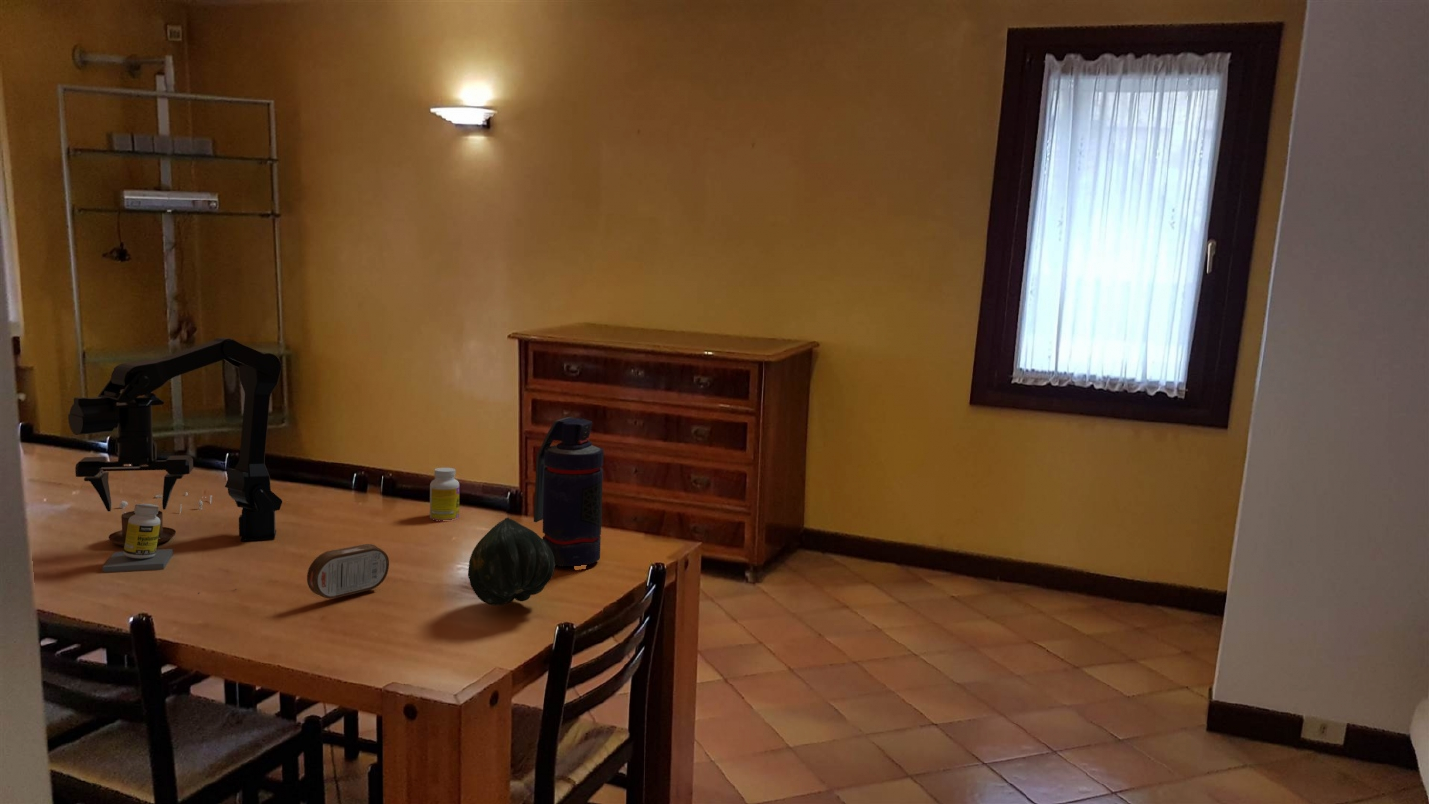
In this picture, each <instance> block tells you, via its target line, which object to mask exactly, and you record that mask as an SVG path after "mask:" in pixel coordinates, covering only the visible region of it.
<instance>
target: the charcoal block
mask: <svg viewBox="0 0 1429 804" xmlns="http://www.w3.org/2000/svg"><path fill="white" fill-rule="evenodd" d="M173 550H174V548H164V549H161V548H160V549H156V554H155V556H153V557H151V558H131V557H128V556H125V555H124V550H122V551H115V552H114V553H113V554H111V556H110V557H109V559H108V560H107V561H106V562H105V564H104V565H103V566H102V573H104V574H107V573H121V572H123V573H125V572H139V571H140V572H141V571H143V572H144V571H158V570H159V571H163V570H165V568H166V566H167V565H168V564H169V562H170V560H171V559H172V557H173V555H174V551H173Z"/></svg>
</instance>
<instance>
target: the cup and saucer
mask: <svg viewBox="0 0 1429 804" xmlns="http://www.w3.org/2000/svg"><path fill="white" fill-rule="evenodd" d="M133 515H135V513H134V510H131V511H127V512H126V513H122V514H121V517H120V518H121V530H118V531H114V532H112V533H110V534H109V535H108V540H109V541H110V542H111V543H112V544H114V545H117V546H122V547H124V546H125V540H126V533H127V527H128V521H129V518H130V517H131V516H133ZM156 517H158V518H159V519H160V529H159V535H158V542H157V545H158V544H162V543H165V542H168V541H170V540H172V539H173V537H175V535H176V534H177V533H176V530H175V528H172V527H167V526H164V525H163V524H164V523H163V517H164V516H163V511H161V510H158V514H157V515H156Z"/></svg>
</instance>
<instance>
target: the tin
mask: <svg viewBox="0 0 1429 804" xmlns="http://www.w3.org/2000/svg"><path fill="white" fill-rule="evenodd" d="M389 558H390V557H389V556H388V554H387V553H386V552H385V551H384V550H383V549H381V548H380V547H378V546H377V545H375V544H372V543H364V544H363V543H362V544H359V545H353V546H349V547H343V548H338V549H332V550H327V551H324V552H323V553H321V554H319V555H318V556H317V557H316V558H314V560H312V562H311V564H310V566H309V568H308V570H307V574H306V583H307V586H308V588H309V589H310V591H311V592H312V593H314V594H315V595H317V596H320V597H322V598H325V599H331V600H332V599H336V598H341V597H345V596H349V595H354V594H358V593H363V592H368V591H371V590H373V589H376V588H378V587H379V586H380V585H381V584H382V583H383V582H384V581H385V579H386V577H387V575H388V573H389V570H390V569H389V568H390V559H389Z"/></svg>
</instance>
